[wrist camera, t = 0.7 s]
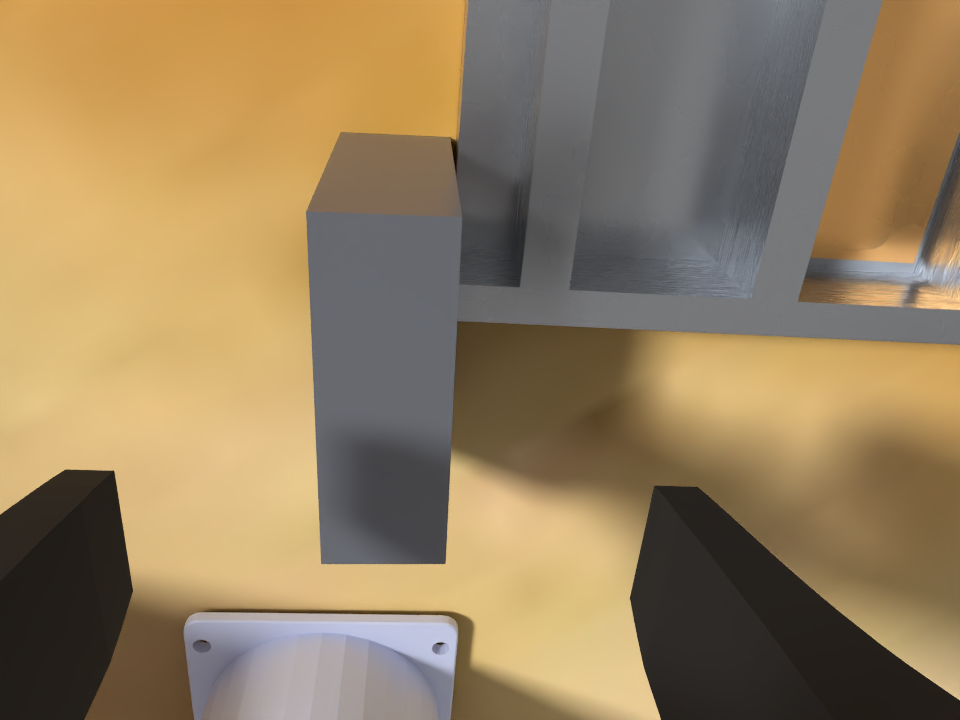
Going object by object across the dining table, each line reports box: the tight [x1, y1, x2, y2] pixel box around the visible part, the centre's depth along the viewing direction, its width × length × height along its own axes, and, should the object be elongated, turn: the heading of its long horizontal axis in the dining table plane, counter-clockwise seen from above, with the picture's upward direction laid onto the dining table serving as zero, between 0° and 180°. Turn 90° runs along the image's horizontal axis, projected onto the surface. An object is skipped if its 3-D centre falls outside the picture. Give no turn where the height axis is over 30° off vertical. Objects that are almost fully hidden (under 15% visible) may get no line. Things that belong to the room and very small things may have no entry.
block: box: [306, 132, 462, 564], centre depth 17 cm, size 7×2×6 cm, turn 177°
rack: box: [455, 0, 960, 345], centre depth 16 cm, size 10×18×4 cm, turn 85°
